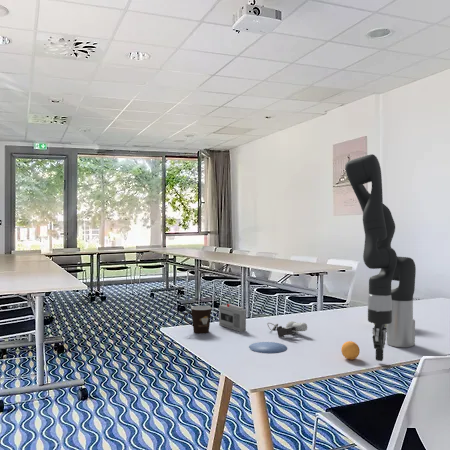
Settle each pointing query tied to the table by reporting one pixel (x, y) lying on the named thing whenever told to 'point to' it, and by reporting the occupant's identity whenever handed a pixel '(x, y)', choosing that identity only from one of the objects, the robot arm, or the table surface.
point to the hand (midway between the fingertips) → (379, 360)
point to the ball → (350, 350)
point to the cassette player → (232, 317)
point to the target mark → (268, 347)
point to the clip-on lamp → (289, 328)
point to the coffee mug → (200, 318)
